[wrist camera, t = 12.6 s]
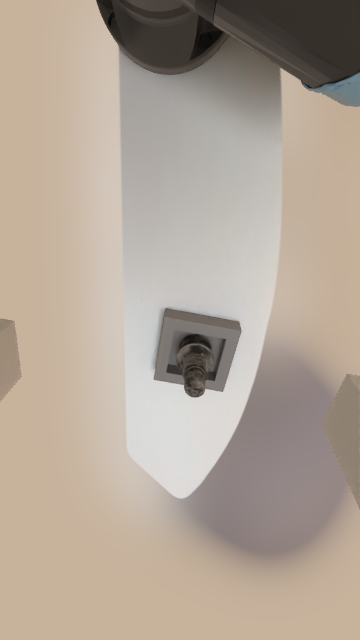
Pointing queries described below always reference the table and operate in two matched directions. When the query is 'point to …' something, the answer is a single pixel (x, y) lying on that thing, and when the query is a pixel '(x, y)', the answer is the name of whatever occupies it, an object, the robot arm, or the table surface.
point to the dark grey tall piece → (195, 363)
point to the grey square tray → (214, 329)
